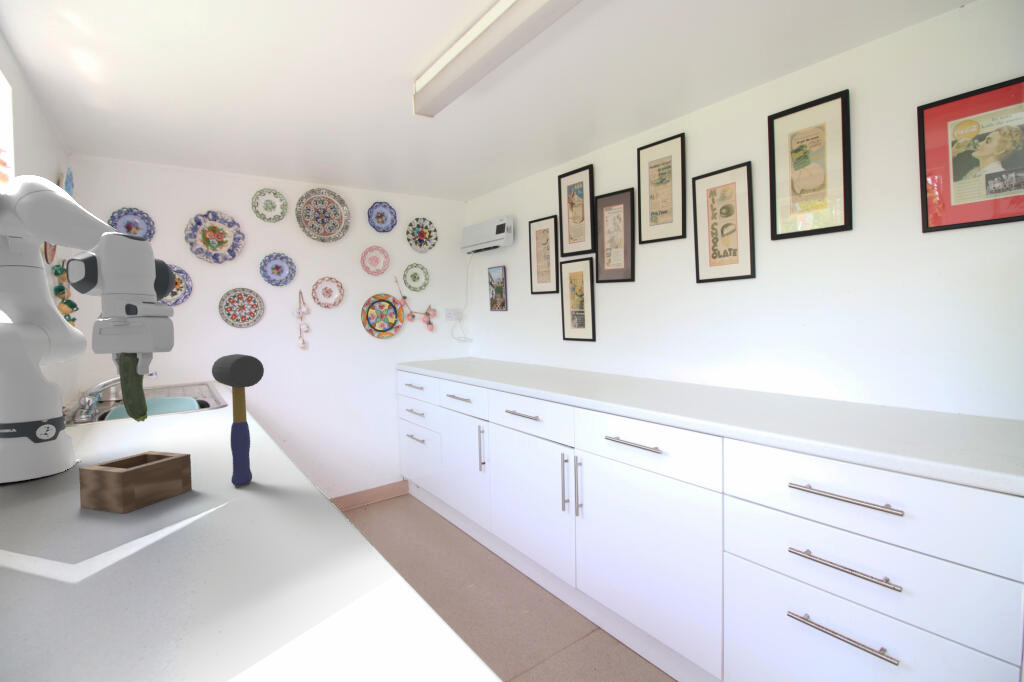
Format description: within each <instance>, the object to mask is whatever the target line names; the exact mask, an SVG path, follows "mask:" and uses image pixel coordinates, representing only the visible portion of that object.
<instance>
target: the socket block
mask: <svg viewBox="0 0 1024 682" xmlns="http://www.w3.org/2000/svg"><path fill="white" fill-rule="evenodd" d="M191 460H192V459H191V454H190V453H181V452H180V453H178V452H170V451H169V452H168V451H167V452H166V451H153V450H150V451H149V450H148V451H144V452H141V453H137V454H132V455H128V456H124V457H119V458H116V459H113V460H112V459H111V460H107V461H103V462H100V463H95V464H91V465H87V466H83V467H79V468H78V474H79V475H78V476H79V496H80V497H79V499H80V508H83V509H89V510H95V511H105V512H111V513H117V514H126V513H130V512H132V511H134V510H138V509H141V508H144V507H146V506H149V505H153V504H155V503H158V502H161V501H164V500H167V499H169V498H173V497H175V496H178V495H181V494H184V493H187V492H190V491H192V490H193V487H192V466H191V465H192V464H191V463H192V462H191Z"/></svg>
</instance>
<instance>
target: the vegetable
mask: <svg viewBox="0 0 1024 682" xmlns="http://www.w3.org/2000/svg"><path fill="white" fill-rule="evenodd" d="M138 361H139V358H137V353H125V352H122V353H121V354H120V358H119V373H120V375H119V381H120V390H121V395H122V401H123V405H124V409H125V411H126V414H127V415H128V416H129V417H130V418H131V419H132V420H134V421H136V422H137V423H140V422H145V420H147V419H148V406H147V401H146V396H145V391H144V387H143V386H144V384H143V382H144V377H145V375H136V374H135V367H137V365H138Z"/></svg>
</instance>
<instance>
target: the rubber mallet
mask: <svg viewBox="0 0 1024 682" xmlns="http://www.w3.org/2000/svg"><path fill="white" fill-rule="evenodd" d="M264 373H265V367H264V364H263V363H262V361H261V360H260V359H258V358H257V357H255V356H253V355H247V354H242V353H241V354H240V353H234V354H229V355H224V356H221V357H219V358H218V359H216V361H214V362H213V365H212V367H211V374H212V377H213V379H214V380H215V381H216V382H217V383H219V384H222V385H225V386H228V387H231V388H232V389H231V391H232V393H231V395H232V397H231V398H232V424H231V427H230V451H231V455H232V456H231V457H232V474H231V483H232V485H233V486H234V487H235V488H242V487H243V488H244V487H247V486H248V485H250V483H252V480H253V473H252V471H251V463H250V459H251V458H250V449H251V433H250V426H249V423H248V421H247V405H246V404H247V403H246V402H247V400H246V388H248V387H249V388H250V387H252V386H255V385H257V384H259V382H260V381H261V380H262V378H263V377H264Z"/></svg>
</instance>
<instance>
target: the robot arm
mask: <svg viewBox="0 0 1024 682" xmlns="http://www.w3.org/2000/svg"><path fill="white" fill-rule="evenodd" d="M44 242H45V243H49V244H50V246H51V245H52V246H54V247H55V246H59V247H65V248H70V249H76V250H81V251H80V252H78V253H76V254H74V255H73V256H72V257H70V258H69V259H67V261H66V268H65V269H66V270H65V271H66V272H65V274H66V280H67V281H66V282H67V283H68V284H69V285H70V286H71V287H72V288H73V290H75V291H76V292H78V293H80V294H81V295H86V296H92V297H100V298H101V299H100V301H101V305H100V306H101V312H100V314H99V316H97V317H96V319H95V321H94V322H93V326H92V332H91V333H92V334H91V349H92V351H93V353H94V354H95V355H99V354H101V355H103V354H104V355H106V354H108V355H109V354H111V359H112V361H113V363H114V365H115V367H116V374H117V375H119V376H120V373H119V358H120V354H121V353H122V352H125V353H137V358H139V361H138V365H137V367H135V374H136V375H144V376H145V375H149V373H150V365H151V363H152V360H153V359H154V356H153V355H154V353H170V352H172V350H173V348H174V346H175V328H174V327H175V326H174V322H173V320H172V319H171V318H173V317H174V315H175V311H174V307H172V306H170V305H167V304H166V303H162V302H160V301H162V300H163V299H164V298H166V297H168V296H169V295H170V294H171V293H172V291H173V290H174V289H175V286H176V276H175V274H174V272H173V270H172V268H171V267H170V266H169V265H168V264H167V262H165V261H164V260H162V259H161V258H160V259H159V258H155V255H154V251H153V247H152V244H151V242H150V241H149V240H148V239H146V238H145V237H143V236H139V235H132V234H127V233H122V232H120V231H119V230H117V229H116V228H114V227H112V226H111V225H109V224H107V223H106V222H104V221H102V220H101V219H99V218H97V217H96V216H94V215H93V214H92V213H90V212H89V211H87V210H86V209H85V208H83V207H82V206H81V205H80V204H78V203H77V202H76V201H75V200H74V198H73V197H72V196H70V195H69V194H68V193H67V192H66V191H65V190H64V189H62V188H61V187H59V186H58V185H56V184H55V183H53V182H52V181H50V180H48V179H46V178H44V177H40V176H38V175H37V176H36V175H20V176H16V177H15V178H13V179H11V180H9V182H8V183H7V184H6V185H5V189H0V311H1V312H3V313H4V314H5V315H6V316H7V317H8V318H9V320H10V321H11V322H12V323H11V322H0V484H3V483H4V484H5V483H12V482H13V483H14V482H19V481H26V480H31V479H37V478H42V477H47V476H52V475H56V474H59V473H63V472H66V471H68V470H67V469H69V468H71V467H72V466H73V465H74V464H75V463H77V462H79V463H81V462H80V461H82V460H81V459H80V458H78V459H76V456H75V455H76V454H75V449H74V441H73V437H72V434H69V433H68V432H66V431H65V429H66V428H67V427H66V426H67V421H66V416H65V415H63V398H62V395H63V394H62V389H61V387H60V386H59V385H58V384H57V383H56V382H53V381H51V380H49V379H47V378H46V376H45V375H44V373H43V372H42V370H41V366H45V365H58V364H63V363H67V362H70V361H73V360H74V361H75V360H77V359H79V358H80V357H82V356H83V355H84V354H85V352H86V350H87V345H88V343H87V342H88V341H87V339H86V336H85V334H84V333H83V332H82V331H81V330H80V329H78V328H77V327H75V326H74V325H71V324H70V322H68V321H67V320H66V318H65V317H64V316H63V315H62V313H61V311H60V310H59V309H58V307H57V306H56V303H55V301H54V299H53V296H52V294H51V290H50V286H49V280H48V276H47V272H46V266H45V262H44V259H43V255H42V251H41V247H42V245H43V243H44ZM77 464H78V463H77ZM75 465H76V464H75ZM75 465H74V466H75ZM71 469H72V468H71ZM65 470H66V471H65ZM69 470H70V469H69Z"/></svg>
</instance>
